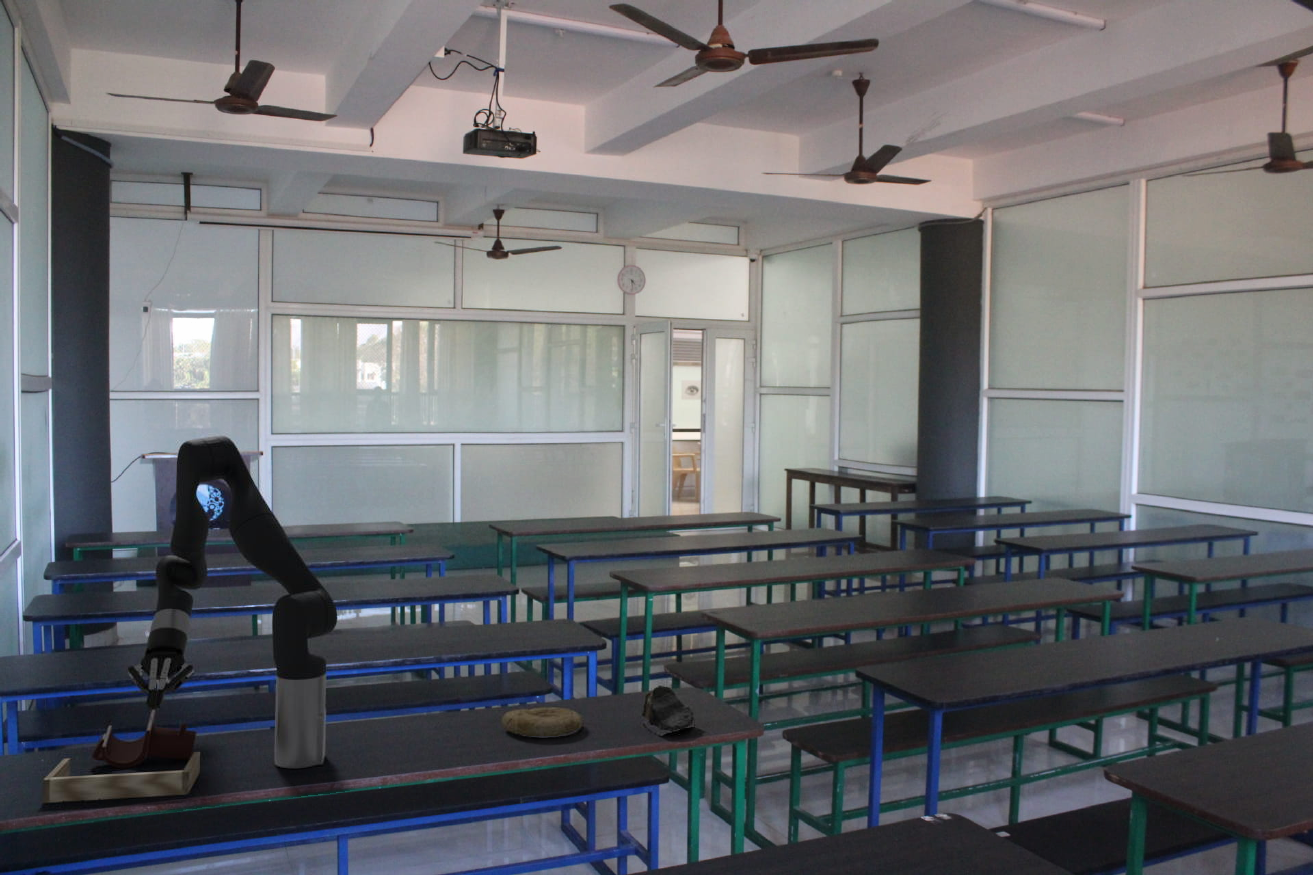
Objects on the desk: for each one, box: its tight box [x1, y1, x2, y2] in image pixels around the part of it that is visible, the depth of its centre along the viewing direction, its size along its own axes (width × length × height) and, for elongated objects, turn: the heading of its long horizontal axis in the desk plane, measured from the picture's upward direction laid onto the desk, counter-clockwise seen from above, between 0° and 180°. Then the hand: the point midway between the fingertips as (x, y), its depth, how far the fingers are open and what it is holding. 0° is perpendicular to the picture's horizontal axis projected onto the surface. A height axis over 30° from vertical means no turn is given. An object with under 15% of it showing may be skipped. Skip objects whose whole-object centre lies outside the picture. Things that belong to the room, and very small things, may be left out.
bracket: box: [91, 710, 198, 769], centre depth 194 cm, size 6×17×10 cm, turn 113°
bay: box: [42, 751, 201, 804], centre depth 181 cm, size 23×11×4 cm, turn 104°
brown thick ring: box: [501, 706, 584, 736], centre depth 221 cm, size 17×15×5 cm
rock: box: [641, 685, 695, 731], centre depth 225 cm, size 14×11×10 cm
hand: (153, 709), depth 202 cm, fingers closed
